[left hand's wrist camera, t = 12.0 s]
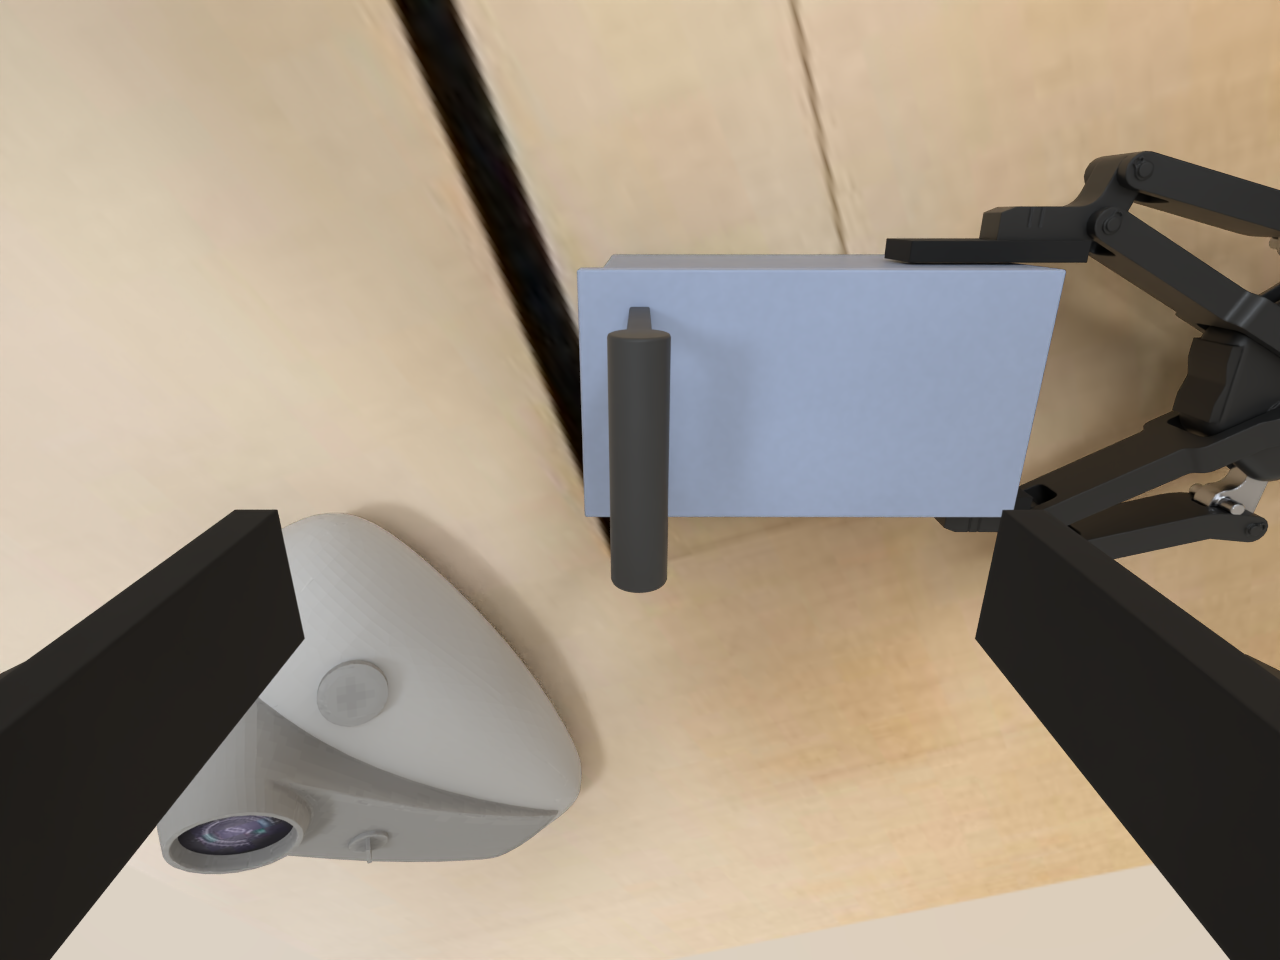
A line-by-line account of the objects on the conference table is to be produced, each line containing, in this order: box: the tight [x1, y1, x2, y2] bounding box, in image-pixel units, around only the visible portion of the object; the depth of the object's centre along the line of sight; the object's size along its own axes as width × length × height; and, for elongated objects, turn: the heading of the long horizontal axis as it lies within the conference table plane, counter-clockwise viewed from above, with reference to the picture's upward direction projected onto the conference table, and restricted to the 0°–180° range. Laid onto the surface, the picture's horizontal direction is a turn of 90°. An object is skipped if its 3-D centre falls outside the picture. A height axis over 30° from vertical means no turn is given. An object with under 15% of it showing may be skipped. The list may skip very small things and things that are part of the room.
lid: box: [577, 268, 1066, 593], centre depth 21 cm, size 16×9×8 cm, turn 90°
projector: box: [157, 513, 582, 874], centre depth 33 cm, size 22×23×15 cm
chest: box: [603, 255, 1048, 268], centre depth 29 cm, size 16×9×9 cm, turn 90°
